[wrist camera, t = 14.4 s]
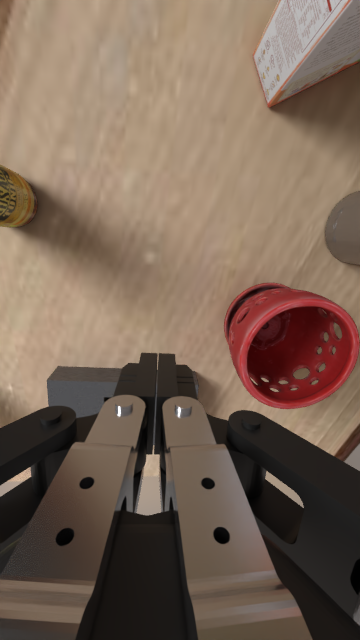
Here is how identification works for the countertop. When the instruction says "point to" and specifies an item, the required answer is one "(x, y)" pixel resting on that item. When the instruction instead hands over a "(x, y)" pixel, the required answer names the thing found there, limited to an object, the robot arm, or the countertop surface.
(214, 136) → the countertop surface
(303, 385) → the plant pot
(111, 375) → the jig
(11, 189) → the sauce bottle
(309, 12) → the cracker box
